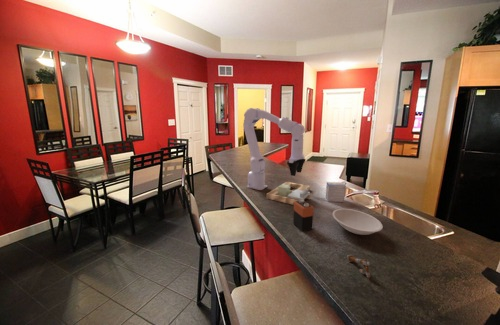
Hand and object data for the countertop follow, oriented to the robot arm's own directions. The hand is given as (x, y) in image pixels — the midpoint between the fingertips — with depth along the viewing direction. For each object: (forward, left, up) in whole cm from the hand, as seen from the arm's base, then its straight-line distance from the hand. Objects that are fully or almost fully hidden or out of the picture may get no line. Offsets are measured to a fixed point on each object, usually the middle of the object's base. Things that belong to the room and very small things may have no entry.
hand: (296, 173), depth 116 cm
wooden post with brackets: (+37, -46, -11) cm, 60 cm away
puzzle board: (0, -3, -11) cm, 11 cm away
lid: (+6, -9, -8) cm, 13 cm away
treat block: (-2, -9, -11) cm, 14 cm away
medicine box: (+20, +1, -11) cm, 23 cm away
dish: (+33, -25, -11) cm, 43 cm away
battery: (+16, -32, -11) cm, 38 cm away
